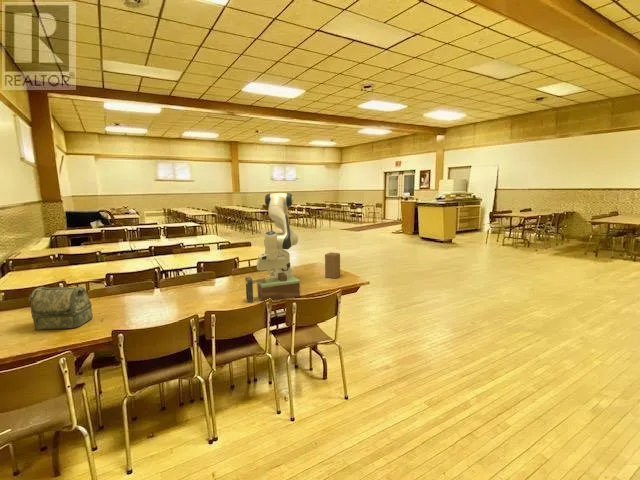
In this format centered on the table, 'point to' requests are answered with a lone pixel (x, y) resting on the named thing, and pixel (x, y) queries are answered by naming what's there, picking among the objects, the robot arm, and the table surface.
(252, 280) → the bolt
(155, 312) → the table surface
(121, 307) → the table surface
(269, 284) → the lid
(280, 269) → the robot arm
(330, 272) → the wooden block
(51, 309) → the lunch bag
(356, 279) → the table surface
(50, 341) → the table surface
